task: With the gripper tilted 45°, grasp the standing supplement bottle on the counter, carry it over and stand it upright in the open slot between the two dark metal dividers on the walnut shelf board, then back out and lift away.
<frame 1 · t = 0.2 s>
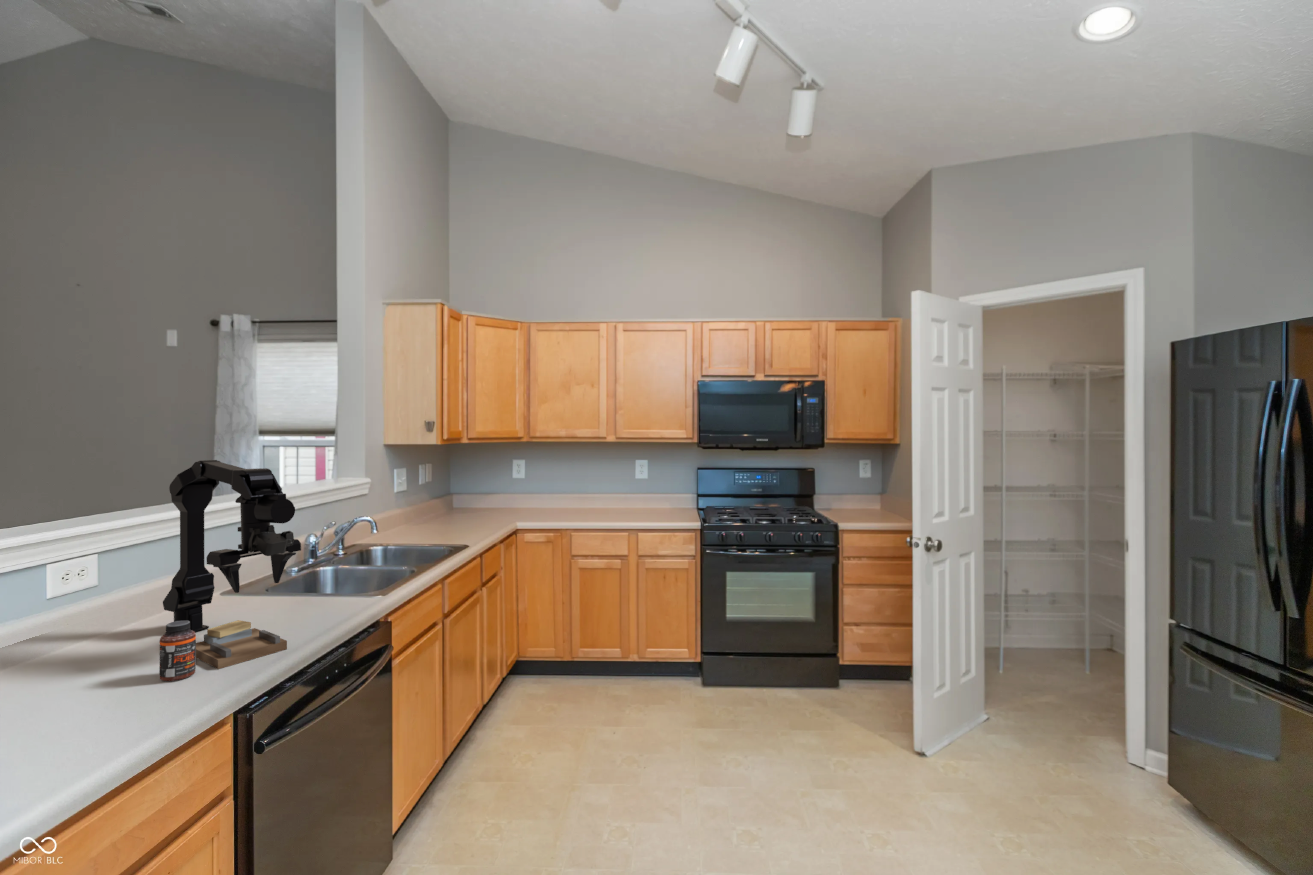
hand: (257, 587, 141), 14 cm above the worktop, tool pointing down, fingers open, 9 cm apart
supplement bottle: (177, 677, 125), on the worktop
shelf board: (237, 651, 139), on the worktop
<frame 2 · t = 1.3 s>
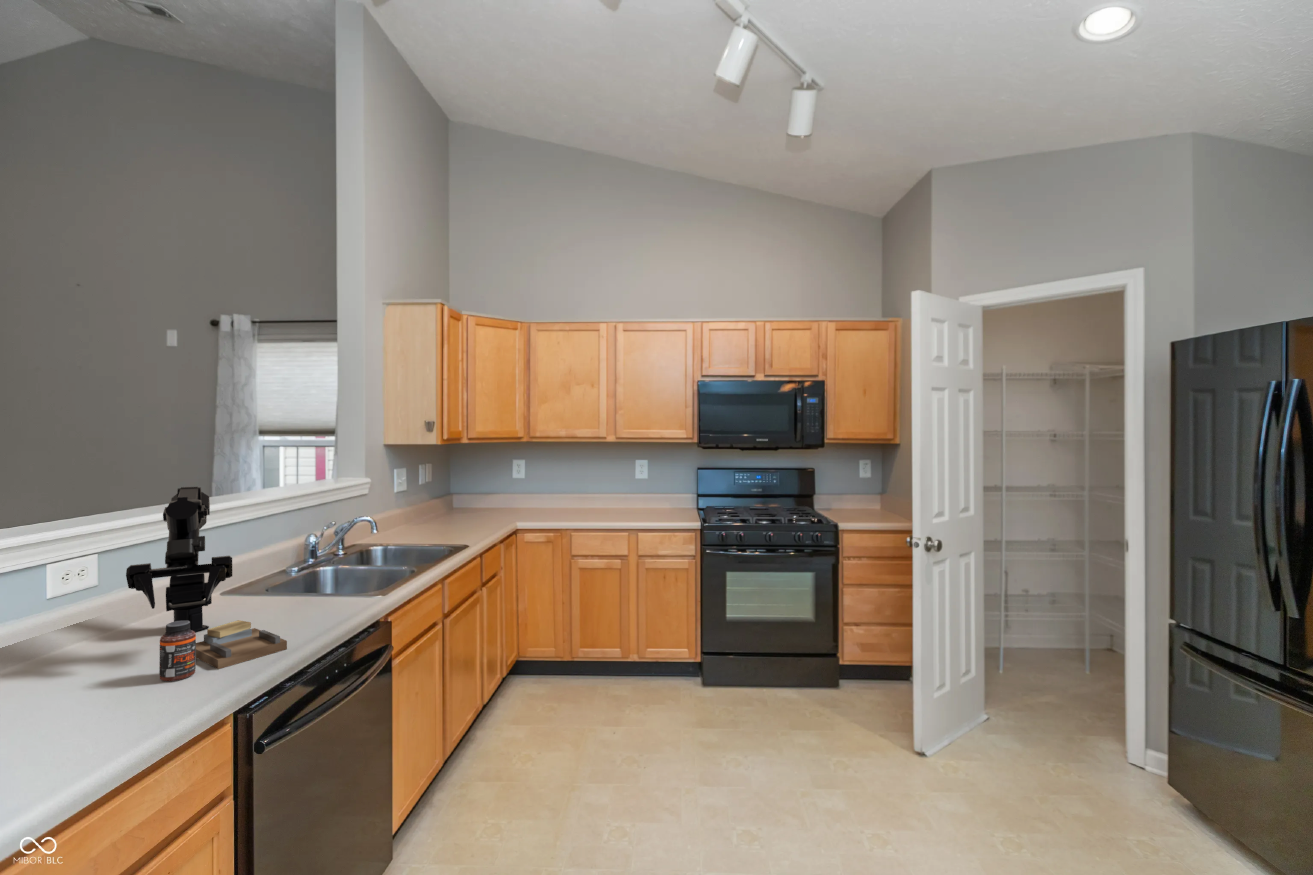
hand: (180, 603, 131), 13 cm above the worktop, tool tilted 45°, fingers open, 9 cm apart
nothing on the worktop moved.
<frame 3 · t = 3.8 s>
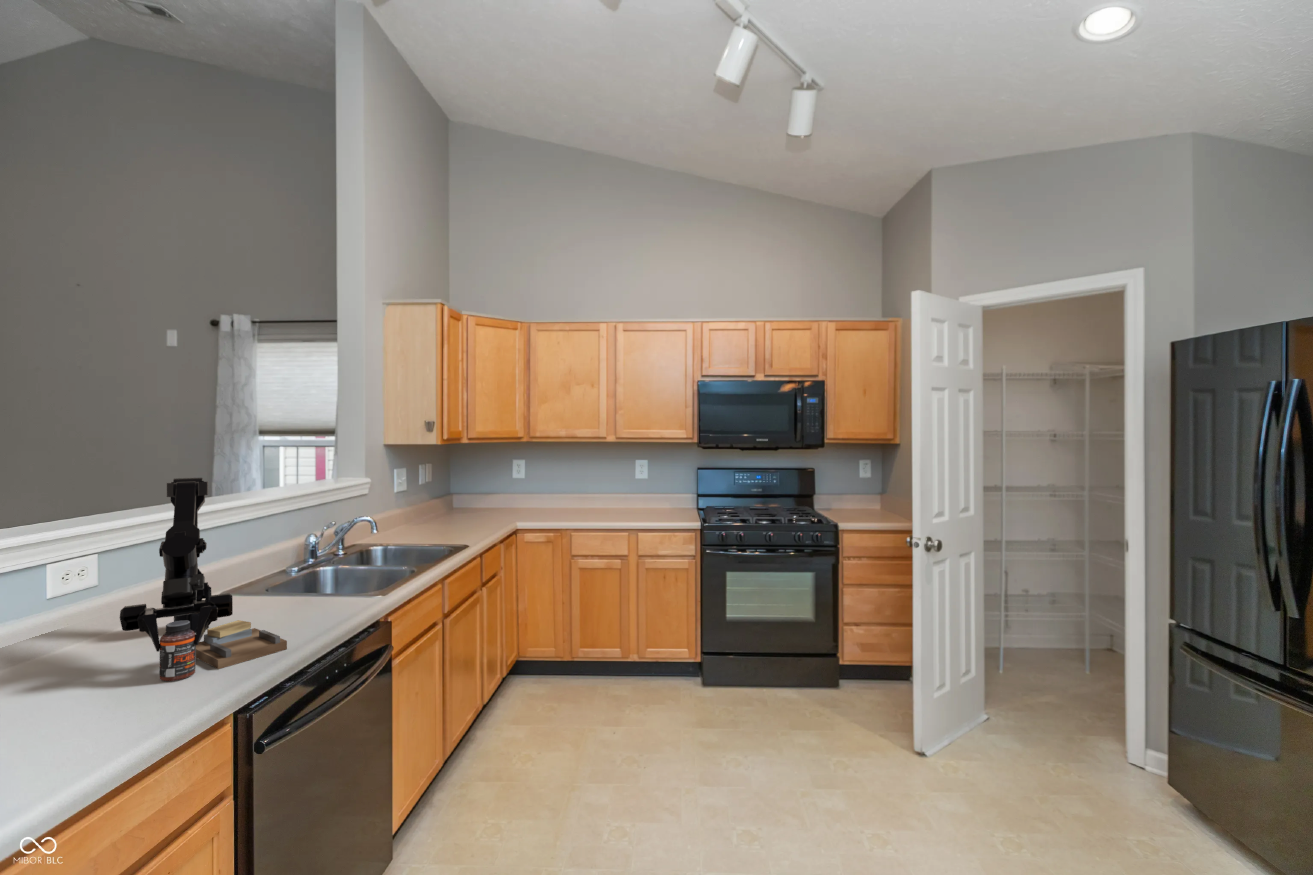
hand: (177, 647, 123), 7 cm above the worktop, tool tilted 45°, fingers closed on supplement bottle, 6 cm apart
supplement bottle: (177, 677, 125), on the worktop, touching gripper
when the fingers open (9 cm above the worktop, at t = 8.0 s): supplement bottle stays where it is, resting on shelf board.
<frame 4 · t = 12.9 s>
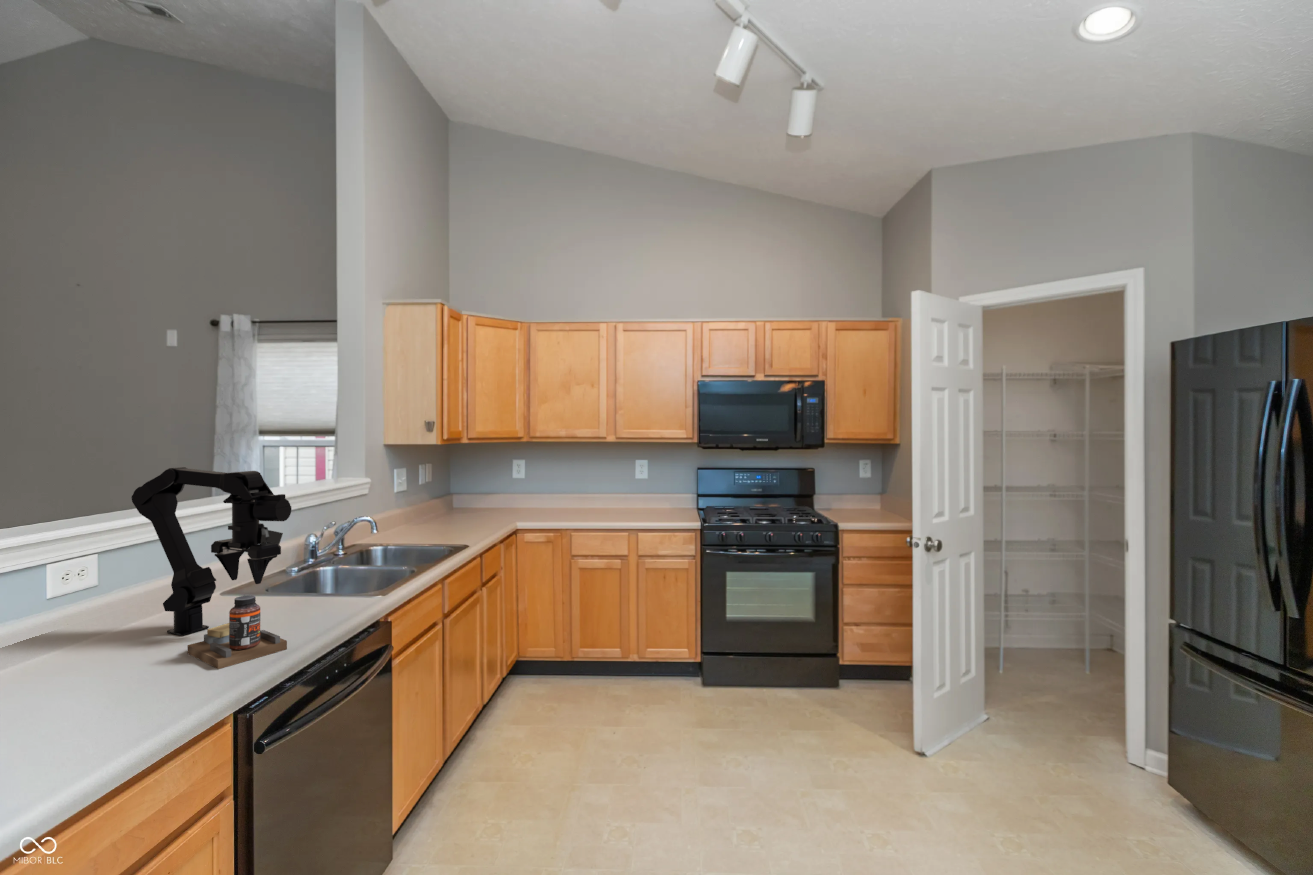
hand: (246, 581, 151), 13 cm above the worktop, tool pointing down, fingers open, 9 cm apart
supplement bottle: (245, 646, 136), point 2 cm above the worktop, touching shelf board
at the end: supplement bottle 0.3 cm from the target spot on the shelf board, point 1.8 cm above the shelf board's base; supplement bottle tilted 0°; the gripper is holding nothing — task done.
